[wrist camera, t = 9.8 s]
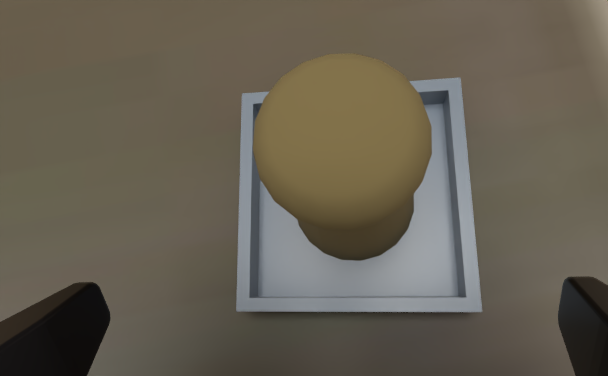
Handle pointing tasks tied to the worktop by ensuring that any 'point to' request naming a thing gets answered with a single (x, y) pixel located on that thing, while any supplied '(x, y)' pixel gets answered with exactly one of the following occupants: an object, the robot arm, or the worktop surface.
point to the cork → (344, 152)
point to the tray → (378, 270)
